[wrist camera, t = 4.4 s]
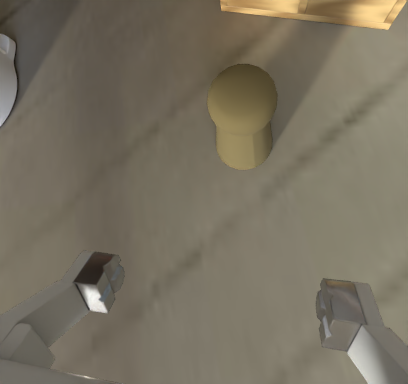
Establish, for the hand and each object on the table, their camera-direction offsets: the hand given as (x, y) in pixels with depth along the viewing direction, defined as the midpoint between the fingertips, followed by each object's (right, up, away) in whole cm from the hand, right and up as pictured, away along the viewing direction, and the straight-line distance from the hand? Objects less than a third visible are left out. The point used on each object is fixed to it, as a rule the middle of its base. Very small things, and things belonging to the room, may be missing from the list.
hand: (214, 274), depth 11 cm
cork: (+4, +9, +19) cm, 21 cm away
